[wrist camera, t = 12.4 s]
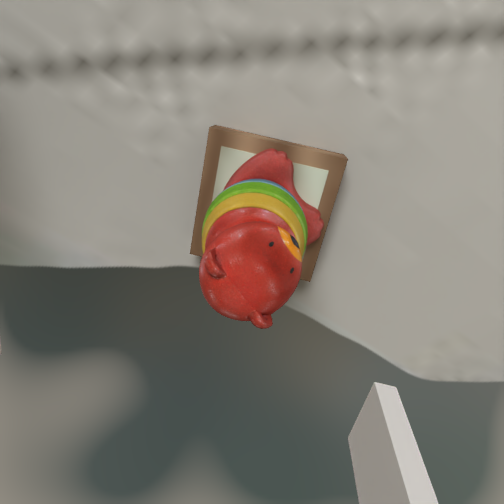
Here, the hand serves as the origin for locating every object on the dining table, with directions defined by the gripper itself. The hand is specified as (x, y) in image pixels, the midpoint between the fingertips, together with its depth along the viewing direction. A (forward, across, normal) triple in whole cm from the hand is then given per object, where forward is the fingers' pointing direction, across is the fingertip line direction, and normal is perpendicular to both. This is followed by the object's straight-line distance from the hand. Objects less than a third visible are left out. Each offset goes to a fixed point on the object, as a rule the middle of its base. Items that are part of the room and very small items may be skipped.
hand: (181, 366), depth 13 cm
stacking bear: (+28, +2, -2) cm, 28 cm away
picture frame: (+31, +2, -2) cm, 31 cm away
